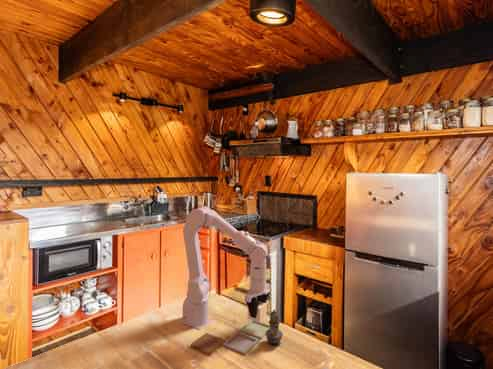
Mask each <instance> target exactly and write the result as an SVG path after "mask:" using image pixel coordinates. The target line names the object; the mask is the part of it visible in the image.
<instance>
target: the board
mask: <svg viewBox="0 0 493 369" xmlns="http://www.w3.org/2000/svg"><path fill="white" fill-rule="evenodd" d="M225 341H226V340H225V339H223V338H222V337H218V336H216V335H214V334H210V333H208V332H206V333H204V334H202V335H201V336H200V337H198V338H197V339H196V340H194V341H193V342H192V343H191V344H190V347H191V349H194V350H196V351H199V352H201V353H203V354H206V355H207V356H211V355H212V354H213V353H214V352H215V351H216V350H218V348H220V347H221V346H223V343H224V342H225Z"/></svg>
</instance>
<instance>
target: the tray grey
mask: <svg viewBox="0 0 493 369" xmlns="http://www.w3.org/2000/svg"><path fill="white" fill-rule="evenodd" d="M260 340H261V339H260V338H257V337H254V336H251V335H249V334H246V333H243V332H241V331H240V330H239V331H235V333H234V334H232V335H231V336H230V337H229V338H228V339H226V340H225V342H224V343H223V344H222V347H224V348H226V349H229V350H231V351H234V352H237V353H239V354H241V355H242V356H243V355H244V356H247V355H248V354H249V353H250V352H251V351H252V350H253V349H254V348H255V347H256V345H257V344H259V342H260Z"/></svg>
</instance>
